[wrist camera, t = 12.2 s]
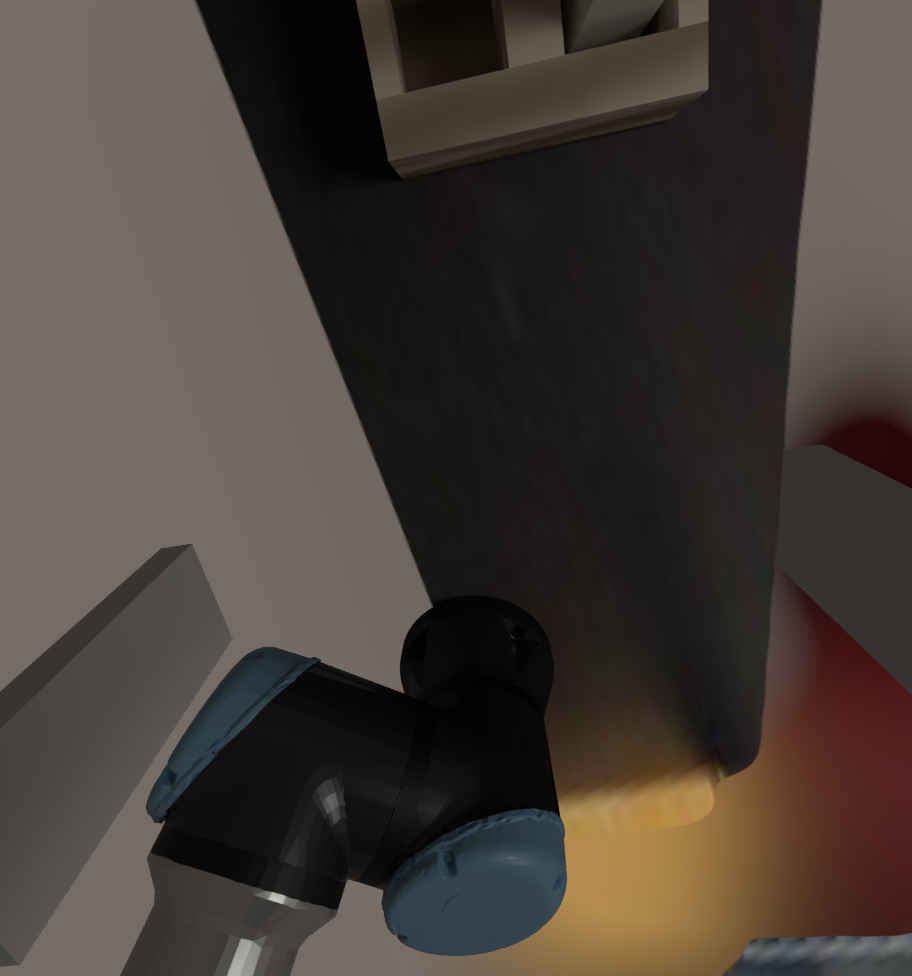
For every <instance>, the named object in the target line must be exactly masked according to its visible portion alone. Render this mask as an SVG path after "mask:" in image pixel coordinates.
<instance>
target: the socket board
mask: <svg viewBox="0 0 912 976" xmlns="http://www.w3.org/2000/svg"><path fill="white" fill-rule="evenodd" d="M356 3H357V7H358V12H359V17H360V22H361V27H362V32H363V37H364V42H365V47H366V52H367V57H368V62H369V67H370V72H371V77H372V82H373V87H374V92H375V97H376V102H377V107H378V112H379V116H380V121H381V126H382V131H383V136H384V141H385V146H386V151H387V156H388V161H389V163H390V164H391V165H392V167H393V168H394V169H395V170H396V172H397V173H398V174H399V176H400V177H401V178H402V180H403V181H405V180H410V179H414V178H419V177H423V176H428V175H432V174H437V173H441V172H446V171H450V170H455V169H459V168H464V167H468V166H473V165H478V164H482V163H487V162H491V161H496V160H500V159H505V158H509V157H514V156H518V155H523V154H527V153H532V152H536V151H541V150H545V149H550V148H554V147H559V146H563V145H568V144H573V143H577V142H582V141H586V140H591V139H595V138H600V137H604V136H609V135H613V134H618V133H622V132H627V131H631V130H636V129H640V128H645V127H649V126H654V125H659V124H663V123H665V122H667V121H668V120H669V119H670V118H672V117H673V116H674V115H676V114H677V113H678V112H680V111H681V110H682V109H683V108H685V107H686V106H687V105H689V104H690V103H691V102H693V101H694V100H695V99H696V98H698V97H699V96H700V95H702V94H703V93H704V92H705V91H707V90H708V0H664V2H663V3H662V4H661V6H660V7H659V9H658V10H657V12H656V13H655V14H654V16H653V17H652V19H651V20H650V21H649V23H648V24H647V26H646V27H645V28H644V30H643V31H642V33H641V34H640V36H639V37H638V38H634V39H630V40H626V41H622V42H617V43H613V44H609V45H605V46H601V47H596V48H592V49H588V50H584V51H580V52H575V53H571V54H567V55H565V52H564V41H563V29H562V17H561V5H560V0H356Z"/></svg>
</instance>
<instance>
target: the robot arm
mask: <svg viewBox="0 0 912 976" xmlns="http://www.w3.org/2000/svg"><path fill="white" fill-rule="evenodd" d="M777 565H778V566H779V567H780V568H781V569H782V570H783V571H784V572H785V573H786V574H787V575H789V577H790V578H791V579H792V580H793V581H794V582H796V584H798V585H799V586H800V587H801V588H802V589H803V590H804V591H805V592H806V593H807V594H808V595H809V596H810V597H811V598H812V599H813V600H814V601H815V602H816V603H817V604H818V605H819V606H820V607H821V608H822V609H823V610H825V611H826V612H827V613H828V614H829V615H830V616H831V617H832V618H833V619H834V620H835V621H836V622H837V623H838V624H839V625H840V626H841V627H842V628H843V629H844V630H845V631H846V632H847V633H848V634H850V636H852V637H853V638H854V639H855V640H856V641H857V642H858V643H859V644H860V645H861V646H862V647H863V648H864V649H865V650H866V651H867V652H868V653H869V654H870V655H871V656H872V657H873V658H874V659H875V660H877V662H879V663H880V664H881V665H882V666H883V667H884V668H885V669H886V670H887V671H888V672H889V673H890V674H891V675H892V676H893V677H894V678H895V679H896V680H897V681H898V682H899V683H900V684H901V685H902V686H903V687H904V688H905V689H907V690H908V691H909V692H910V693H911V694H912V489H911V488H909V487H907V486H905V485H902V484H901V483H899V482H896V481H895V480H893V479H891V478H888V477H887V476H885V475H883V474H880V473H879V472H877V471H875V470H872V469H871V468H868V467H866V466H864V465H862V464H860V463H858V462H856V461H854V460H852V459H850V458H848V457H846V456H844V455H842V454H840V453H838V452H836V451H834V450H832V449H830V448H828V447H826V446H824V445H817V446H811V447H804V448H797V449H791V450H785V451H783V465H782V482H781V499H780V516H779V533H778V550H777ZM231 641H232V636H231V634H230V631H229V629H228V627H227V625H226V622H225V620H224V618H223V615H222V613H221V611H220V608H219V606H218V604H217V601H216V599H215V597H214V594H213V592H212V590H211V587H210V585H209V583H208V580H207V578H206V576H205V573H204V571H203V569H202V566H201V564H200V562H199V559H198V557H197V555H196V552H195V550H194V548H193V545H192V544H187V545H181V546H174V547H169V548H162V549H160V550H159V551H158V552H157V553H156V554H154V555H153V556H152V557H151V558H150V559H149V560H148V561H147V562H145V563H144V564H143V565H142V566H141V567H140V568H139V569H138V570H137V571H135V572H134V573H133V574H132V575H131V576H130V577H129V578H127V579H126V580H125V581H124V582H123V583H122V584H121V585H120V586H118V587H117V588H116V589H115V590H114V591H113V592H112V593H111V594H109V596H107V597H106V598H105V599H104V600H103V601H102V602H101V603H99V604H98V605H97V606H96V607H95V608H94V609H93V610H91V611H90V612H89V613H88V614H87V615H86V616H85V617H84V618H83V619H81V620H80V621H79V622H78V623H77V624H76V625H75V626H73V627H72V628H71V629H70V630H69V631H68V632H67V633H66V634H65V635H63V636H62V637H61V638H60V639H59V640H58V641H57V642H55V644H53V645H52V646H51V647H50V648H49V649H48V650H47V651H45V652H44V653H43V654H42V655H41V656H40V657H39V658H38V659H36V660H35V661H34V662H33V663H32V664H31V665H30V666H28V667H27V668H26V669H25V670H24V671H23V672H22V673H21V674H19V675H18V676H17V677H16V678H15V679H14V680H13V681H12V682H10V683H9V684H8V685H7V686H6V687H5V688H4V689H3V690H2V691H0V966H13V965H20V964H21V962H22V961H23V959H24V958H25V956H26V955H27V953H28V951H29V950H30V948H31V947H32V945H33V944H34V942H35V941H36V939H37V938H38V936H39V934H40V933H41V931H42V930H43V928H44V927H45V925H46V924H47V922H48V921H49V919H50V918H51V916H52V915H53V913H54V912H55V910H56V909H57V907H58V906H59V904H60V902H61V901H62V899H63V898H64V896H65V895H66V893H67V892H68V890H69V889H70V887H71V886H72V884H73V883H74V881H75V880H76V878H77V876H78V875H79V873H80V872H81V870H82V868H83V867H84V866H85V864H86V863H87V861H88V860H89V858H90V857H91V855H92V853H93V852H94V850H95V849H96V847H97V846H98V844H99V843H100V841H101V840H102V838H103V837H104V835H105V834H106V832H107V831H108V829H109V828H110V826H111V824H112V823H113V821H114V820H115V818H116V817H117V815H118V814H119V812H120V811H121V809H122V808H123V806H124V805H125V803H126V801H127V800H128V798H129V797H130V795H131V794H132V792H133V791H134V789H135V788H136V786H137V785H138V783H139V782H140V780H141V779H142V777H143V775H144V774H145V772H146V771H147V769H148V768H149V766H150V765H151V763H152V762H153V760H154V759H155V757H156V756H157V754H158V753H159V751H160V749H161V748H162V746H163V745H164V743H165V742H166V740H167V739H168V737H169V736H170V734H171V733H172V731H173V730H174V728H175V726H176V725H177V723H178V722H179V720H180V719H181V717H182V716H183V714H184V713H185V711H186V710H187V708H188V706H189V705H190V704H191V702H192V700H193V699H194V697H195V696H196V694H197V693H198V691H199V690H200V688H201V687H202V685H203V684H204V682H205V680H206V679H207V677H208V676H209V674H210V673H211V671H212V669H213V668H214V667H215V665H216V664H217V662H218V661H219V659H220V658H221V656H222V655H223V653H224V651H225V650H226V648H227V647H228V645H229V644H230V642H231ZM320 661H321V660H320V659H318V658H316V657H312V658H308V657H304V656H301V655H298V654H295V653H291V652H288V651H285V650H282V649H279V648H275V647H262V648H259V649H256V650H254V651H252V652H251V653H249V654H247V655H246V656H244V657H243V658H242V659H241V660H240V661H239V662H238V663H237V664H236V665H235V666H234V667H233V668H232V669H231V670H230V672H229V673H228V674H227V675H226V676H225V678H224V679H223V680H222V681H221V683H220V684H219V685H218V687H217V688H216V689H215V690H214V692H213V693H212V695H211V696H210V697H209V698H208V700H207V701H206V703H205V704H204V705H203V707H202V708H201V710H200V711H199V713H198V714H197V715H196V717H195V718H194V720H193V721H192V723H191V724H190V726H189V727H188V729H187V730H186V732H185V733H184V735H183V736H182V738H181V740H180V741H179V743H178V744H177V746H176V748H175V749H174V751H173V753H172V754H171V756H170V758H169V760H168V764H167V765H166V767H165V768H164V770H163V772H162V774H161V775H160V777H159V778H158V780H157V781H156V783H155V784H154V786H153V788H152V790H151V792H150V795H149V797H148V800H147V803H146V810H147V813H148V814H149V815H150V816H151V817H152V819H153V821H154V822H155V823H162V822H163V821H165V823H164V825H163V828H162V830H161V832H160V834H159V836H158V837H157V839H156V841H155V843H154V845H153V847H152V849H151V851H150V853H149V855H148V858H147V861H148V865H149V868H150V872H151V877H152V881H153V884H154V889H155V899H154V906H153V908H152V910H151V912H150V915H149V917H148V919H147V921H146V923H145V925H144V927H143V929H142V931H141V933H140V935H139V937H138V940H137V942H136V944H135V946H134V948H133V950H132V952H131V954H130V956H129V958H128V960H127V962H126V965H125V967H124V969H123V971H122V973H121V975H120V976H290V974H291V970H292V968H293V964H294V961H295V958H296V955H297V952H298V949H299V947H300V946H301V945H302V943H303V942H304V941H305V940H306V939H307V937H308V936H310V935H311V934H313V933H314V932H315V931H317V930H318V929H319V928H321V927H322V926H323V925H325V924H326V923H327V922H329V921H330V920H332V919H333V918H334V917H336V914H337V910H338V908H339V904H340V901H341V898H342V894H343V891H344V888H345V884H346V882H347V880H348V879H349V880H353V881H357V882H360V883H363V884H366V885H369V886H372V887H376V888H379V889H381V890H384V891H383V897H382V909H383V910H384V917H385V922H386V924H387V927H388V929H389V931H390V932H391V933H392V934H393V935H397V937H398V939H399V940H400V941H401V942H402V943H403V944H404V945H406V946H408V947H410V948H413V949H415V950H418V951H421V952H425V953H429V954H436V955H447V956H464V955H476V954H482V953H487V952H492V951H495V950H498V949H501V948H505V947H508V946H511V945H513V944H516V943H518V942H520V941H522V940H524V939H526V938H528V937H529V936H531V935H532V934H534V933H535V932H537V931H538V930H539V929H541V927H543V926H544V925H545V924H546V923H547V922H548V921H549V920H550V919H551V918H552V917H553V916H554V914H555V913H556V911H557V910H558V908H559V906H560V905H561V902H562V900H563V897H564V894H565V890H566V884H567V871H566V860H565V846H564V837H565V829H564V825H563V822H562V820H561V818H560V812H559V806H558V800H557V794H556V788H555V782H554V776H553V770H552V764H551V758H550V752H549V746H548V740H547V734H546V729H545V722H544V716H545V712H546V708H547V704H548V699H549V695H550V691H551V687H552V683H553V677H554V663H553V657H552V652H551V647H550V643H549V640H548V637H547V635H546V633H545V631H544V630H543V628H542V627H541V625H540V624H539V623H538V622H537V621H536V620H535V619H534V618H533V617H532V616H531V615H530V614H529V613H527V612H526V611H525V610H523V609H521V608H520V607H518V606H516V605H514V604H511V603H509V602H506V601H503V600H500V599H496V598H490V597H481V596H472V597H462V598H456V599H452V600H449V601H446V602H443V603H441V604H439V605H436V606H435V607H433V608H431V609H429V610H428V611H427V612H425V613H424V614H423V615H421V617H419V618H418V619H417V620H416V621H415V623H414V624H413V625H412V627H411V628H410V630H409V631H408V633H407V636H406V638H405V641H404V645H403V649H402V655H401V661H400V675H401V682H402V686H403V689H404V693H405V694H404V693H401V692H399V691H396V690H393V689H391V688H388V687H385V686H382V685H380V684H377V683H374V682H372V681H369V680H366V679H364V678H361V677H358V676H356V675H353V674H350V673H348V672H345V671H343V670H340V669H337V668H335V667H332V666H329V665H326V664H324V663H322V662H320Z"/></svg>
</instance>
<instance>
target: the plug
mask: <svg viewBox="0 0 912 976" xmlns="http://www.w3.org/2000/svg"><path fill="white" fill-rule="evenodd" d="M663 2H664V0H560V5H561V17H562V29H563V41H564V52H565V55H567V54H571V53H575V52H580V51H584V50H588V49H592V48H596V47H601V46H605V45H609V44H613V43H617V42H622V41H626V40H630V39H634V38H638V37H639V36H640V34H641V33H642V31H643V30H644V28H645V27H646V26H647V24H648V23H649V21H650V20H651V19H652V17H653V16H654V14H655V13H656V12H657V10H658V9H659V7H660V6H661V4H662V3H663Z"/></svg>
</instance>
